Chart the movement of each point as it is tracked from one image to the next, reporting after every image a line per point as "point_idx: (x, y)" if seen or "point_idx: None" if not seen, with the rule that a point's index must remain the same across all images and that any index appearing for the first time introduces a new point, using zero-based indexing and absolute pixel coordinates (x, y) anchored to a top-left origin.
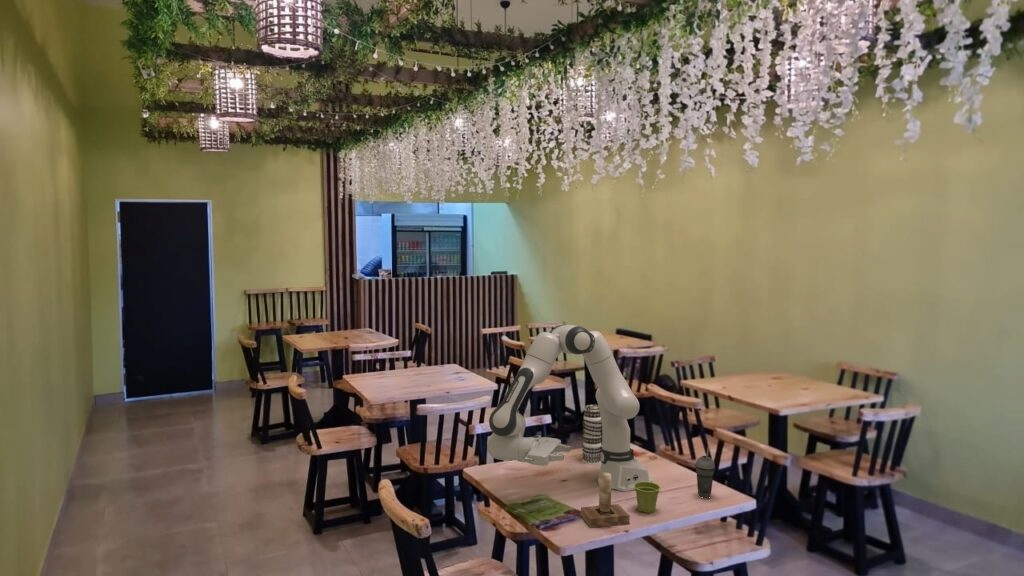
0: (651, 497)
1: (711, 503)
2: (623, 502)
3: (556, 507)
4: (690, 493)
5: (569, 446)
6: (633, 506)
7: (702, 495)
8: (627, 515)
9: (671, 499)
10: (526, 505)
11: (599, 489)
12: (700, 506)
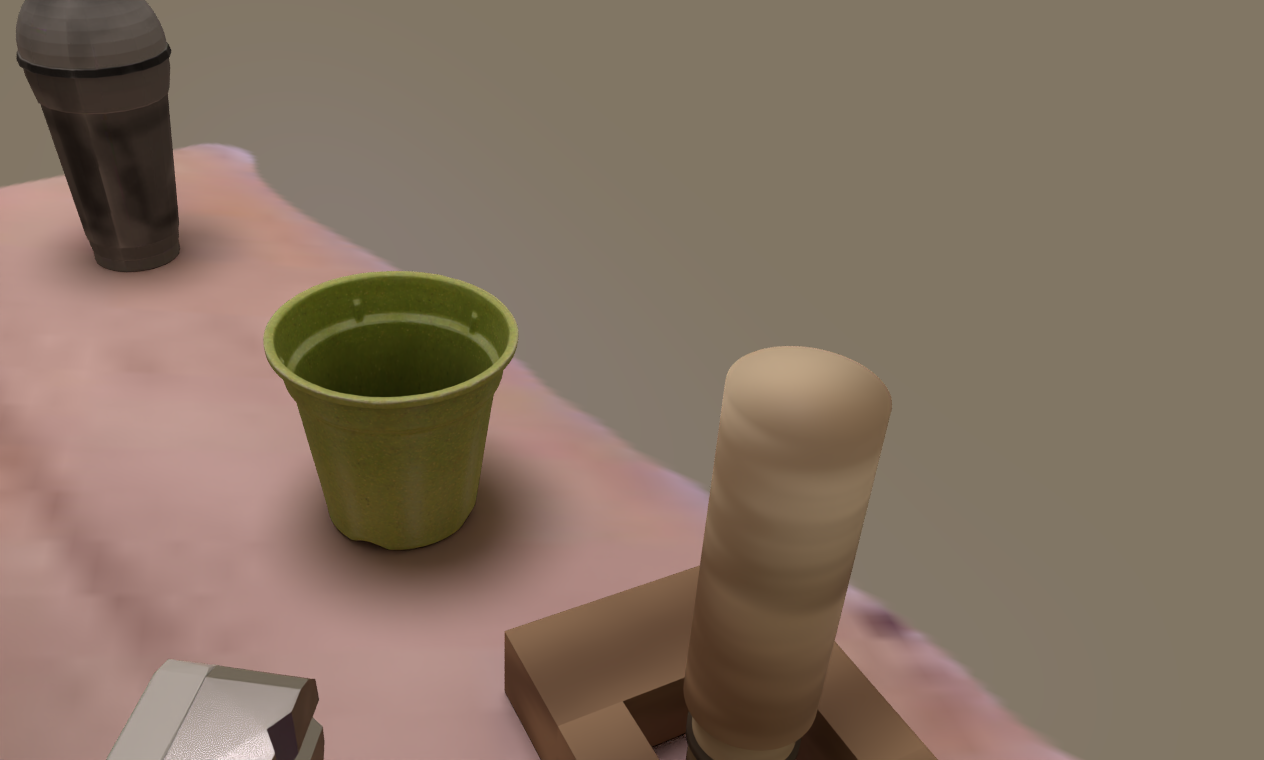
0: (487, 366)
1: (259, 241)
2: (235, 656)
3: None
4: (68, 295)
5: (179, 670)
6: (338, 582)
7: (168, 243)
8: None
9: (178, 376)
10: None
11: (810, 604)
12: (311, 277)
